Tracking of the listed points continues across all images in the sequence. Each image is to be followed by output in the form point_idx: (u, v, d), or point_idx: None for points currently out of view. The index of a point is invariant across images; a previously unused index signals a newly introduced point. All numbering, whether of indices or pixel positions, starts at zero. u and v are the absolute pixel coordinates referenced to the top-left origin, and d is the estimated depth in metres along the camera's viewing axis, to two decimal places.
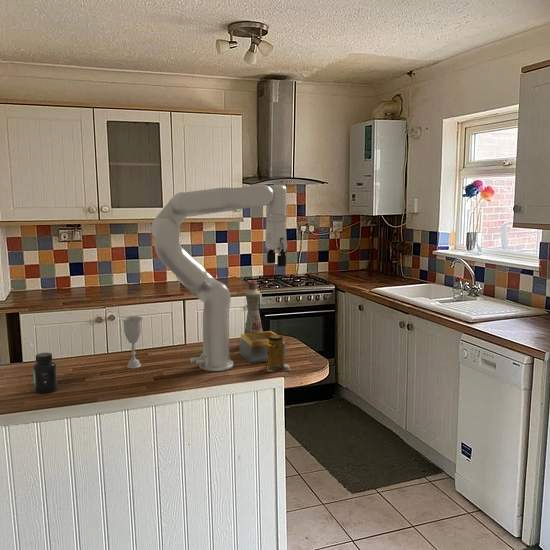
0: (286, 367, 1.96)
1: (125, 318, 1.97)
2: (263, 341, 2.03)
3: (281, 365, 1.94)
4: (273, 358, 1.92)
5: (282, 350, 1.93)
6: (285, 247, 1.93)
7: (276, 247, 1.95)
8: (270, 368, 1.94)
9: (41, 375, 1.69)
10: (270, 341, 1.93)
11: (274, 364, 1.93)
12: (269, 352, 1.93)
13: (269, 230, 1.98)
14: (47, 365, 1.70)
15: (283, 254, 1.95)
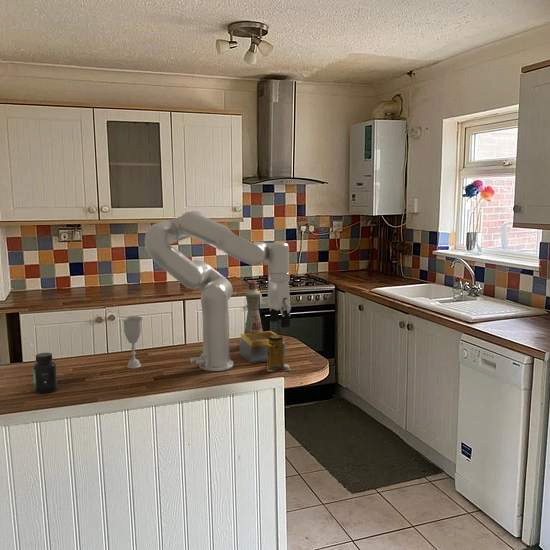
0: (286, 367, 1.96)
1: (125, 318, 1.97)
2: (263, 341, 2.03)
3: (281, 365, 1.94)
4: (273, 358, 1.92)
5: (282, 350, 1.93)
6: (289, 308, 1.85)
7: (279, 308, 1.87)
8: (270, 368, 1.94)
9: (41, 375, 1.69)
10: (270, 341, 1.93)
11: (274, 365, 1.93)
12: (269, 352, 1.93)
13: (271, 289, 1.90)
14: (47, 365, 1.70)
15: (287, 315, 1.87)
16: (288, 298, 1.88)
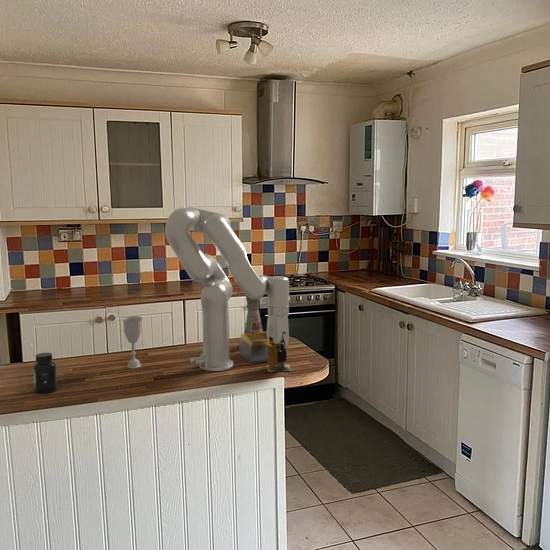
0: (287, 367, 1.96)
1: (125, 318, 1.97)
2: (263, 341, 2.03)
3: (282, 365, 1.93)
4: (273, 358, 1.92)
5: None
6: (286, 346, 1.88)
7: (278, 342, 1.89)
8: (270, 368, 1.93)
9: (41, 375, 1.69)
10: (271, 341, 1.92)
11: (275, 365, 1.92)
12: (270, 352, 1.93)
13: (271, 323, 1.92)
14: (47, 365, 1.70)
15: (283, 350, 1.90)
16: (287, 332, 1.90)
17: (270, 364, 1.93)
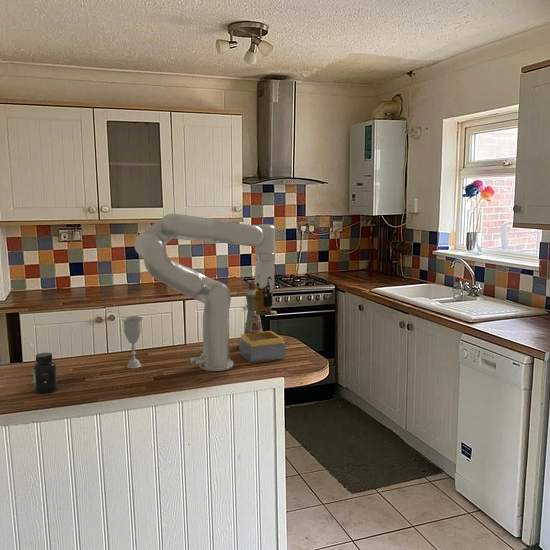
0: (273, 313, 2.05)
1: (125, 318, 1.97)
2: (263, 341, 2.03)
3: (268, 310, 2.02)
4: (260, 303, 2.01)
5: None
6: (271, 290, 1.96)
7: (264, 286, 1.98)
8: (257, 313, 2.02)
9: (41, 375, 1.69)
10: (257, 286, 2.01)
11: (261, 309, 2.01)
12: (256, 297, 2.02)
13: (258, 269, 2.01)
14: (47, 365, 1.70)
15: (269, 295, 1.99)
16: (272, 277, 1.98)
17: (257, 308, 2.02)
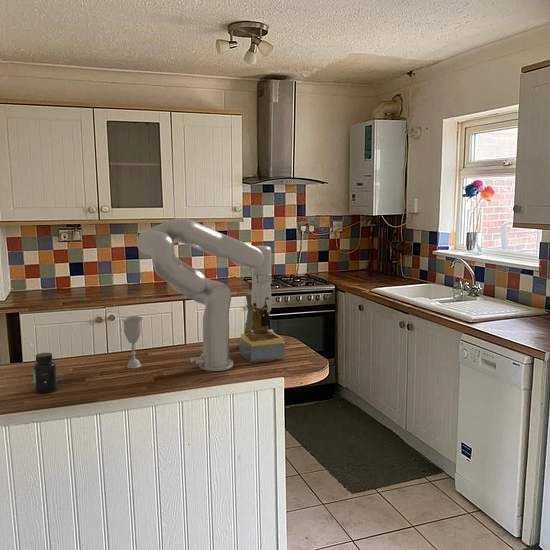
0: (270, 331, 2.09)
1: (125, 318, 1.97)
2: (263, 341, 2.03)
3: (265, 329, 2.06)
4: (257, 323, 2.05)
5: None
6: (268, 310, 2.01)
7: (261, 306, 2.02)
8: (255, 332, 2.06)
9: (41, 375, 1.69)
10: (255, 307, 2.05)
11: (259, 329, 2.05)
12: (254, 317, 2.06)
13: (255, 289, 2.05)
14: (47, 365, 1.70)
15: (266, 315, 2.03)
16: (270, 298, 2.03)
17: (254, 328, 2.06)
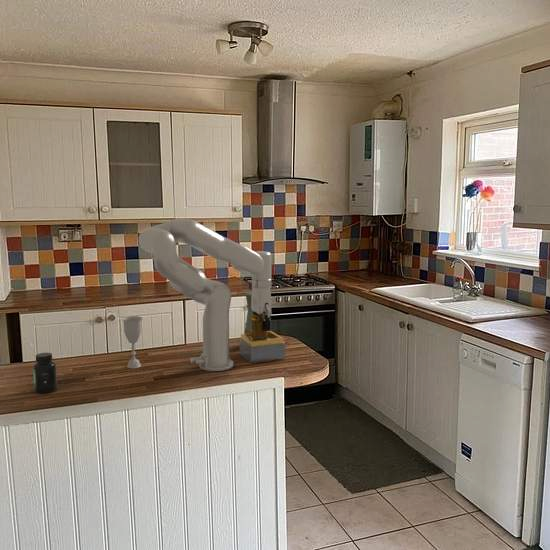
0: None
1: (125, 318, 1.97)
2: (263, 341, 2.03)
3: (264, 338, 2.07)
4: (257, 331, 2.06)
5: None
6: (269, 314, 2.00)
7: (261, 312, 2.02)
8: None
9: (41, 375, 1.69)
10: (254, 315, 2.06)
11: (258, 337, 2.06)
12: (253, 326, 2.06)
13: (254, 294, 2.05)
14: (47, 365, 1.70)
15: (267, 319, 2.03)
16: (269, 303, 2.03)
17: (254, 337, 2.07)
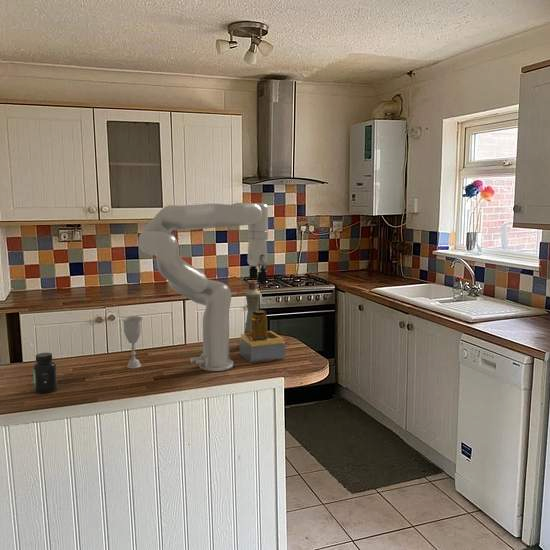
0: None
1: (125, 318, 1.97)
2: (263, 341, 2.03)
3: (264, 338, 2.07)
4: (257, 331, 2.06)
5: (265, 324, 2.06)
6: (265, 264, 1.98)
7: (256, 264, 2.00)
8: None
9: (41, 375, 1.69)
10: (254, 315, 2.06)
11: (258, 337, 2.06)
12: (253, 326, 2.06)
13: (250, 247, 2.04)
14: (47, 365, 1.70)
15: (263, 271, 2.00)
16: (265, 255, 2.01)
17: (254, 337, 2.07)
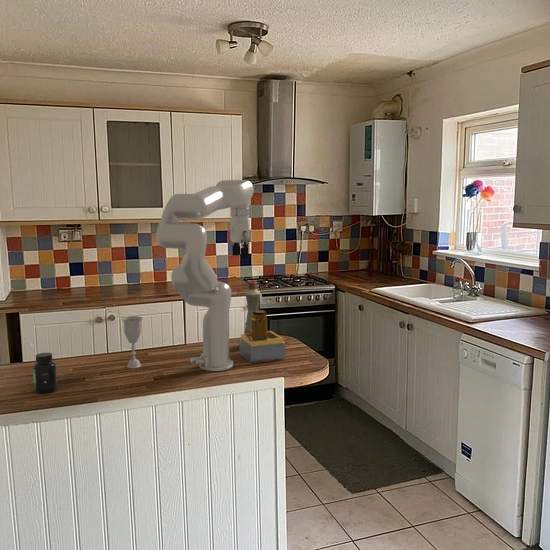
0: None
1: (125, 318, 1.97)
2: (263, 341, 2.03)
3: (264, 338, 2.07)
4: (257, 331, 2.06)
5: (265, 324, 2.06)
6: (247, 240, 2.03)
7: (239, 240, 2.05)
8: None
9: (41, 375, 1.69)
10: (254, 315, 2.06)
11: (258, 337, 2.06)
12: (253, 326, 2.06)
13: (233, 224, 2.09)
14: (47, 365, 1.70)
15: (246, 246, 2.05)
16: (247, 231, 2.06)
17: (254, 337, 2.07)
